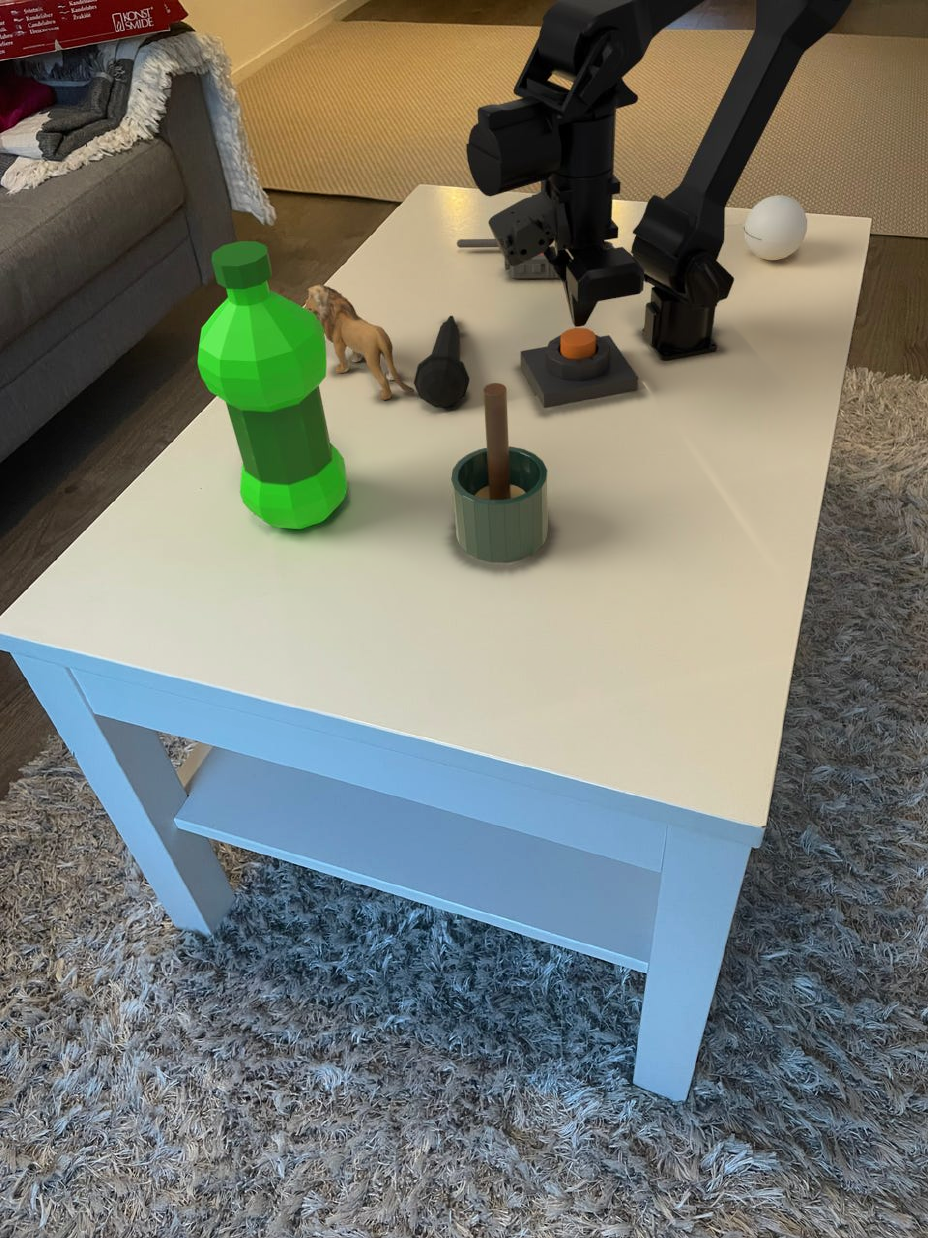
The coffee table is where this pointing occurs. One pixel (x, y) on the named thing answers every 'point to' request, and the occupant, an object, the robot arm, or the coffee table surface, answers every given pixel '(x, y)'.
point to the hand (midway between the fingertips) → (578, 324)
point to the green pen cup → (500, 508)
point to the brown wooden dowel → (497, 445)
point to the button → (578, 343)
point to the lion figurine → (353, 335)
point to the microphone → (443, 370)
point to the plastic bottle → (272, 392)
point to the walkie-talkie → (527, 269)
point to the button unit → (577, 373)
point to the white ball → (775, 227)
